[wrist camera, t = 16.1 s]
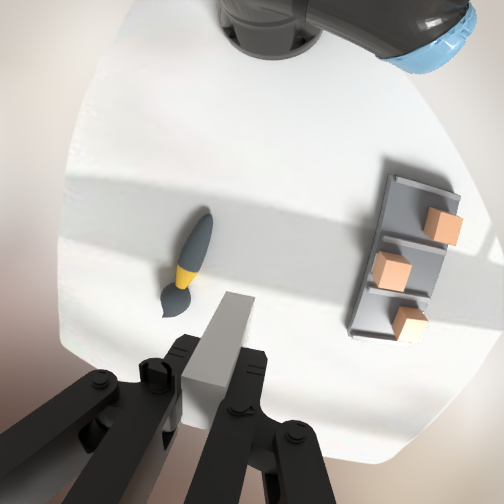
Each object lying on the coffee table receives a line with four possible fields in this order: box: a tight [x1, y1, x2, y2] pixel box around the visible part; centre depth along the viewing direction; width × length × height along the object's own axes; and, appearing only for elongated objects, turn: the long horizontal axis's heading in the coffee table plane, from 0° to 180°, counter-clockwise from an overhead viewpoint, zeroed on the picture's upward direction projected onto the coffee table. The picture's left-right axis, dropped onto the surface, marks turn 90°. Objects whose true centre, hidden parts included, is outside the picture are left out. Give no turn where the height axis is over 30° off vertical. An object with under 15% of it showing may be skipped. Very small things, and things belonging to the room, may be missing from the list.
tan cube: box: [391, 306, 429, 343], centre depth 40 cm, size 4×4×4 cm
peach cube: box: [372, 251, 412, 292], centre depth 38 cm, size 4×4×4 cm
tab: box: [423, 207, 463, 246], centre depth 35 cm, size 4×4×4 cm
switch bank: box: [347, 174, 461, 347], centre depth 41 cm, size 26×12×3 cm, turn 172°
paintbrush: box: [161, 214, 213, 318], centre depth 46 cm, size 20×5×5 cm, turn 160°
